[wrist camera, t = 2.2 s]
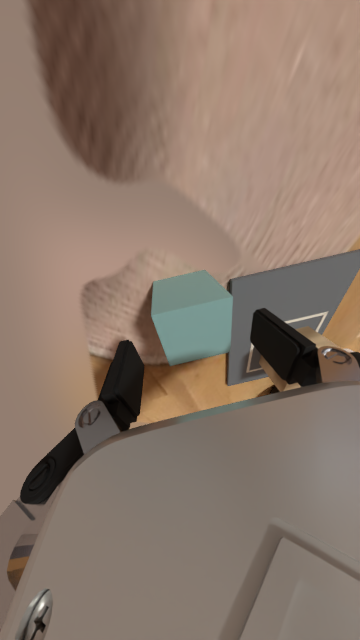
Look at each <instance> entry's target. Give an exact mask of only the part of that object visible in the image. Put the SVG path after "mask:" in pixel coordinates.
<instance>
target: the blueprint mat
mask: <svg viewBox="0 0 360 640" xmlns="http://www.w3.org/2000/svg"><path fill="white" fill-rule="evenodd" d="M359 269H360V249H359V250H355V251H350V252H346V253H342V254H337V255H333V256H329V257H324V258H320V259H316V260H312V261H307V262H303V263H299V264H294V265H290V266H286V267H281V268H277V269H273V270H268V271H264V272H260V273H255V274H251V275H247V276H242V277H238V278H234V279H230V294H231V295H232V296H233V306H232V328H231V349H230V352H228V365H227V385H228V386H231V385H235V384H240V383H244V382H248V381H252V380H257V379H261V378H265V377H269V376H268V375H267V374H266V372H265V371H264V369H263V368H262V367H261V365H260V364H259V361H260V357H261V354H260V353H259V351H258V350H257V349H256V348H255V347H254V346H253V344H252V343H251V341H250V335H251V327H252V319H253V313H254V312H255V311H256V310H257V309H261V308H266V309H267V310H269V311H270V312H272V313H273V314H274V315H276V316H277V317H278V318H280V319H281V320H283V321H284V322H285V323H287V324H288V325H290V326H291V327H292V328H294V329H298V328H302V327H307V326H309V327H310V328H312V329H313V330H315V331H316V332H318V333H319V334H321V335H322V334H323V332H324V330H325V328H326V327H327V325H328V323H329V321H330V320H331V318H332V316H333V314H334V313H335V311H336V309H337V307H338V306H339V304H340V302H341V300H342V299H343V297H344V295H345V293H346V292H347V290H348V288H349V286H350V285H351V283H352V281H353V279H354V278H355V276H356V274H357V272H358V270H359Z"/></svg>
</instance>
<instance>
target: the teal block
mask: <svg viewBox="0 0 360 640" xmlns="http://www.w3.org/2000/svg"><path fill="white" fill-rule="evenodd" d="M232 306H233V296H232V295H231V294H230V293H229V292H228V291H227V290H226V289H224V288H223V287H222V286H221V285H220V284H219V283H218V282H217V281H216V280H215V279H214V278H213V277H212V276H211V275H210V274H209V273H208V272H207V271H206V270H201V271H197V272H193V273H189V274H184V275H180V276H176V277H171V278H167V279H163V280H158V281H154V282H153V293H152V308H151V317H152V320H153V322H154V325H155V328H156V330H157V333H158V336H159V338H160V341H161V344H162V346H163V349H164V352H165V354H166V357H167V360H168V362H169V365H170V366H172V365H177V364H181V363H185V362H189V361H194V360H198V359H202V358H207V357H211V356H215V355H219V354H224V353H228V352H230V349H231V328H232Z"/></svg>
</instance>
